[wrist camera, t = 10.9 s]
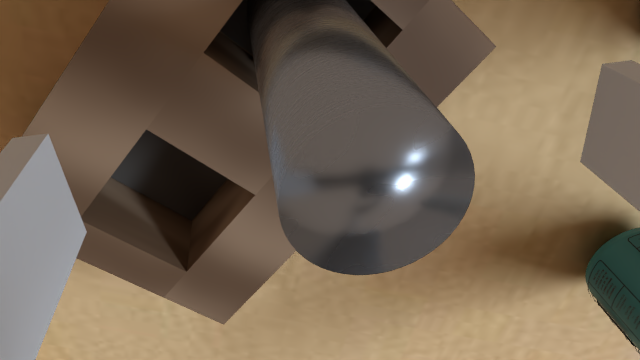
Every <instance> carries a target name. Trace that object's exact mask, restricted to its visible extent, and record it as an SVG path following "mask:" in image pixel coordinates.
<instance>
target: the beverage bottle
mask: <svg viewBox="0 0 640 360" xmlns="http://www.w3.org/2000/svg"><path fill="white" fill-rule="evenodd" d="M585 278H586V283H587V285H588V291H589V290H590V292H591V294H592V297H593V296H594V297H595V298H596V299H597V303H598V305H599V306H600V307H601V308H602V309H603V310H604V312H605V313H606V314H607V315H608V316H609V317H610V319H611V320H612V322H614V323H615V324H614V325H616V326H617V327H618V328H619V329H620V330H621V332H622V333H623V334H624V335H625V337H626V339H628V340H629V341H630V342H631V344H632V345H633V346H635V345H636V346H635V349H636V347H637V348H638V351H639V350H640V228H635V229H631V230H628V231H626V232H623V233H621V234H619V235H617V236H615V237H613V238H612V239H610V240H609V241H608V242H606V243H605V244H604V245H603V246H601V247H600V248H599V249H598V250H597V251H596V253H595V254H594V255H593V257H592V258H591V260H590V262H589V264H588V266H587V269H586V275H585ZM589 294H590V293H589ZM590 296H591V295H590ZM594 301H595V299H594ZM601 305H602V306H603V307H602V306H601ZM607 312H608V313H607ZM612 318H613V319H614V320H613V319H612ZM618 325H619V326H618ZM627 336H628V337H629V338H630V339H629V338H628V337H627ZM633 343H634V344H635V345H634V344H633ZM636 351H637V350H636ZM639 354H640V352H639Z"/></svg>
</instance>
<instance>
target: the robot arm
mask: <svg viewBox="0 0 640 360" xmlns="http://www.w3.org/2000/svg"><path fill="white" fill-rule="evenodd" d="M580 162H581V163H582V164H584V165H585V166H586V167H587V168H588V169H590V170H591V171H592V172H593V173H594V174H596V175H597V176H598V177H599V178H600V179H602V180H603V181H604V182H605V183H606V184H608V185H609V186H610V187H611V188H612V189H613V190H615V191H616V192H617V193H618V194H619V195H621V196H622V197H623V198H624V199H625V200H627V201H628V202H629V203H630V204H631V205H633V206H634V207H635V208H636V209H637V210H639V211H640V64H638V63H636V62H634V61H632V60H630V61H622V62H614V63H606V64H602V67H601V72H600V76H599V81H598V85H597V90H596V94H595V99H594V103H593V107H592V112H591V116H590V121H589V125H588V130H587V134H586V139H585V143H584V148H583V152H582V157H581V161H580ZM86 233H87V231H86V229H85V226H84V224H83V221H82V219H81V216H80V214H79V211H78V208H77V206H76V203H75V201H74V198H73V196H72V193H71V191H70V188H69V185H68V183H67V180H66V178H65V175H64V173H63V170H62V168H61V165H60V162H59V160H58V157H57V155H56V152H55V150H54V147H53V145H52V142H51V139H50V137H49V134H40V135H32V136H24V137H16V138H12V139H11V140H10V142H9V143H8V144H7V145H6V146H5V148H4V149H3V150H2V151H1V152H0V360H35V359H36V356H37V354H38V351H39V349H40V347H41V344H42V342H43V339H44V337H45V334H46V332H47V329H48V327H49V324H50V322H51V319H52V317H53V314H54V312H55V309H56V307H57V304H58V302H59V299H60V297H61V294H62V292H63V290H64V287H65V285H66V282H67V280H68V277H69V275H70V272H71V270H72V267H73V265H74V262H75V260H76V257H77V255H78V252H79V250H80V247H81V245H82V242H83V240H84V238H85V235H86Z"/></svg>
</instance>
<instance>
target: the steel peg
mask: <svg viewBox="0 0 640 360" xmlns="http://www.w3.org/2000/svg"><path fill="white" fill-rule="evenodd" d="M247 21H248V27H249V33H250V40H251V46H252V52H253V58H254V64H255V71H256V77H257V83H258V89H259V95H260V102H261V108H262V114H263V120H264V126H265V133H266V139H267V145H268V151H269V157H270V164H271V170H272V176H273V182H274V188H275V195H276V201H277V207H278V213H279V218H280V223H281V226H282V229H283V231H284V234H285V236H286V237H287V239H288V241H289V242H290V244H291V245H292V246H293V247H294V248H295V250H296V251H297V252H298V253H299V254H301V255H302V256H303V257H304V258H305V259H307V260H308V261H310V262H311V263H313V264H315V265H317V266H319V267H321V268H323V269H327V270H330V271H333V272H337V273H342V274H350V275H370V274H378V273H383V272H388V271H392V270H395V269H398V268H401V267H404V266H406V265H408V264H411V263H413V262H415V261H417V260H419V259H420V258H422V257H424V256H425V255H427V254H428V253H430V252H431V251H433V250H434V249H435V248H437V247H438V246H439V245H440V244H442V243H443V242H444V241H445V240H446V239H447V238H448V237H449V236H450V235H451V233H452V232H453V231H454V230H455V228H456V227H457V226H458V225H459V223H460V221H461V220H462V218H463V217H464V215H465V213H466V211H467V209H468V207H469V204H470V201H471V198H472V194H473V189H474V180H475V172H474V164H473V160H472V157H471V153H470V151H469V149H468V147H467V145H466V143H465V142H464V140H463V139H462V137H461V136H460V135H459V133H458V132H457V131H456V130H455V129H454V128H453V126H452V125H451V124H450V123H449V122H448V120H447V119H446V118H445V117H444V116H443V115H442V113H441V112H440V111H439V110H438V109H437V107H436V106H435V105H434V104H433V103H432V102H431V100H430V99H429V98H428V97H427V96H426V94H425V93H424V92H423V91H422V90H421V89H420V87H419V86H418V85H417V84H416V83H415V82H414V80H413V79H412V78H411V77H410V76H409V74H408V73H407V72H406V71H405V70H404V69H403V67H402V66H401V65H400V64H399V63H398V61H397V60H396V59H395V58H394V57H393V56H392V54H391V53H390V52H389V51H388V50H387V48H386V47H385V46H384V45H383V44H382V43H381V41H380V40H379V39H378V38H377V37H376V35H375V34H374V33H373V32H372V31H371V30H370V28H369V27H368V26H367V25H366V24H365V23H364V21H363V20H362V19H361V18H360V17H359V15H358V14H357V13H356V12H355V11H354V10H353V8H352V7H351V6H350V5H349V4H348V2H347V1H346V0H248V5H247Z"/></svg>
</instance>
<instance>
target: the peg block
mask: <svg viewBox="0 0 640 360" xmlns="http://www.w3.org/2000/svg"><path fill="white" fill-rule="evenodd" d="M346 1H347V2H348V4H349V5H350V6H351V7H352V8H353V10H354V11H355V12H356V13H357V14H358V15H359V17H360V18H361V19H362V20H363V21H364V23H365V24H366V25H367V26H368V27H369V28H370V30H371V31H372V32H373V33H374V34H375V35H376V37H377V38H378V39H379V40H380V41H381V43H382V44H383V45H384V46H385V47H386V48H387V50H388V51H389V52H390V53H391V54H392V56H393V57H394V58H395V59H396V60H397V61H398V63H399V64H400V65H401V66H402V67H403V69H404V70H405V71H406V72H407V73H408V74H409V76H410V77H411V78H412V79H413V80H414V82H415V83H416V84H417V85H418V86H419V87H420V89H421V90H422V91H423V92H424V93H425V94H426V96H427V97H428V98H429V99H430V100H431V102H432V103H433V104H434V105H435V106H436V107H437V106H438V105H439V104H440V103H441V102H442V101H443V100H444V99H445V98H446V97H447V96H448V95H449V94H450V93H451V92H452V91H453V90H454V89H455V88H456V87H457V86H458V85H459V84H460V83H461V82H462V81H463V80H464V79H465V78H466V77H467V76H468V75H469V74H470V73H471V72H472V71H473V70H474V69H475V68H476V67H477V66H478V65H479V64H480V63H481V62H482V61H483V60H484V59H485V57H486V56H487V55H488V54H489V53H490V52H491V51H492V50H493V49H494V48H495V47H496V46H495V45H494V44H493V43H492V42H491V41H490V40H489V38H488V37H487V36H486V35H485V34H484V33H483V32H482V31H481V30H480V29H479V28H478V27H477V26H476V25H475V24H474V23H473V22H472V21H471V20H470V19H469V18H468V17H467V16H466V15H465V14H464V13H463V12H462V11H461V10H460V9H459V8H458V7H457V6H456V5H455V4H454V3H453V1H452V0H346ZM247 5H248V0H109V2H108V3H107V5H106V7H105V8H104V10H103V11H102V13H101V14H100V16H99V17H98V19H97V21H96V22H95V24H94V25H93V27H92V28H91V30H90V31H89V33H88V35H87V36H86V38H85V39H84V41H83V42H82V44H81V45H80V47H79V49H78V50H77V52H76V53H75V55H74V56H73V58H72V59H71V61H70V62H69V64H68V66H67V67H66V69H65V70H64V72H63V73H62V75H61V76H60V78H59V80H58V81H57V83H56V84H55V86H54V87H53V89H52V90H51V92H50V94H49V95H48V97H47V98H46V100H45V101H44V103H43V104H42V106H41V108H40V109H39V111H38V112H37V114H36V115H35V117H34V118H33V120H32V122H31V123H30V125H29V126H28V128H27V129H26V131H25V132H24V134H23V136H22V137H24V136H32V135H40V134H49V137H50V139H51V142H52V145H53V147H54V150H55V152H56V155H57V157H58V160H59V162H60V165H61V168H62V170H63V173H64V175H65V178H66V180H67V183H68V185H69V188H70V191H71V193H72V196H73V198H74V201H75V203H76V206H77V208H78V211H79V214H80V216H81V219H82V221H83V224H84V226H85V229H86V231H87V233H86V235H85V238H84V240H83V242H82V245H81V247H80V250H79V252H78V255H77V257H76V258H77V259H80V260H82V261H84V262H86V263H88V264H91V265H93V266H95V267H97V268H99V269H102V270H104V271H106V272H108V273H111V274H113V275H115V276H117V277H119V278H122V279H124V280H126V281H128V282H131V283H133V284H135V285H137V286H139V287H142V288H144V289H146V290H148V291H151V292H153V293H155V294H157V295H159V296H162V297H164V298H166V299H168V300H171V301H173V302H175V303H177V304H179V305H182V306H184V307H186V308H188V309H190V310H193V311H195V312H197V313H199V314H202V315H204V316H206V317H208V318H210V319H213V320H215V321H217V322H219V323H222V324H225V323H226V322H227V321H228V320H229V319H230V318H231V317H232V315H233V314H234V313H235V312H236V311H237V310H238V309H239V308H240V307H241V306H242V305H243V304H244V303H245V302H246V301H247V300H248V299H249V298H250V297H251V296H252V295H253V294H254V293H255V292H256V291H257V290H258V289H259V288H260V287H261V286H262V285H263V284H264V283H265V282H266V281H267V280H268V279H269V278H270V277H271V276H272V275H273V274H274V273H275V272H276V271H277V270H278V269H279V268H280V267H281V266H282V265H283V263H284V262H285V261H286V260H287V259H288V258H289V257H290V256H291V255H292V254H293V253H294V252H295V251H296V250H295V248H294V247H293V246H292V245H291V244H290V242H289V241H288V239H287V237H286V236H285V234H284V231H283V229H282V226H281V223H280V218H279V213H278V207H277V201H276V195H275V188H274V182H273V176H272V170H271V164H270V157H269V151H268V145H267V139H266V133H265V126H264V120H263V114H262V108H261V102H260V95H259V89H258V83H257V77H256V71H255V64H254V58H253V52H252V46H251V40H250V33H249V27H248V21H247Z"/></svg>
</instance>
